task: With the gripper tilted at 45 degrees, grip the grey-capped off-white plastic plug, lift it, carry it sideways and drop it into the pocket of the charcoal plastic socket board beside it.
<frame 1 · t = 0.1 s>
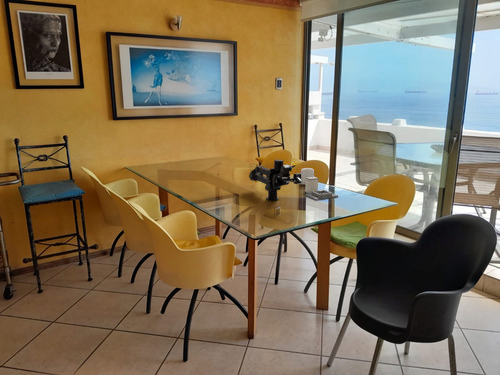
hand: (294, 182, 214), 17 cm above the table, tool horizontal, fingers open, 9 cm apart
plug: (311, 191, 259), on the table
socket board: (321, 196, 248), on the table
photo printer: (307, 184, 281), on the table
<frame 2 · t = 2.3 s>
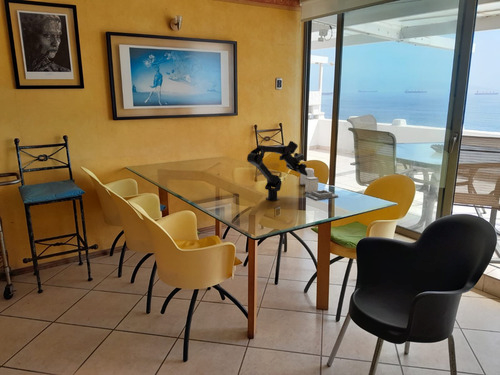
hand: (303, 173, 251), 14 cm above the table, tool tilted 45°, fingers open, 9 cm apart
nothing on the table moved.
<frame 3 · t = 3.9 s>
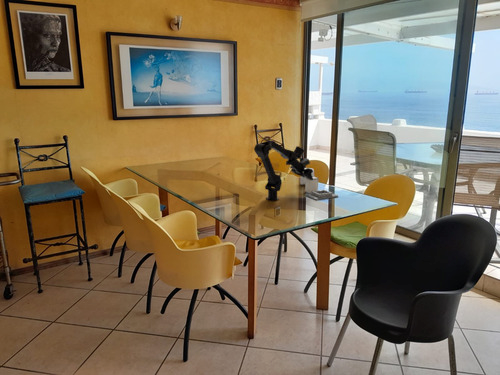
hand: (308, 178, 256), 10 cm above the table, tool tilted 45°, fingers open, 9 cm apart
nothing on the table moved.
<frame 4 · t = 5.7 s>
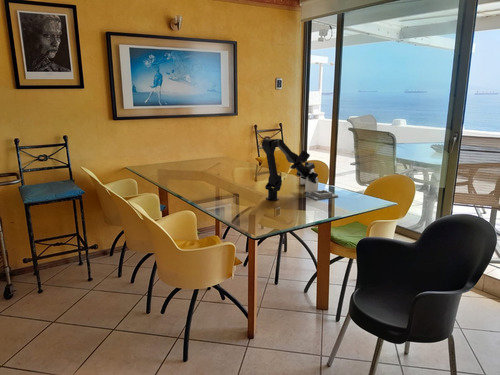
hand: (313, 182, 258), 7 cm above the table, tool tilted 45°, fingers closed on plug, 5 cm apart
plug: (311, 191, 259), on the table, touching gripper
everything else where it was.
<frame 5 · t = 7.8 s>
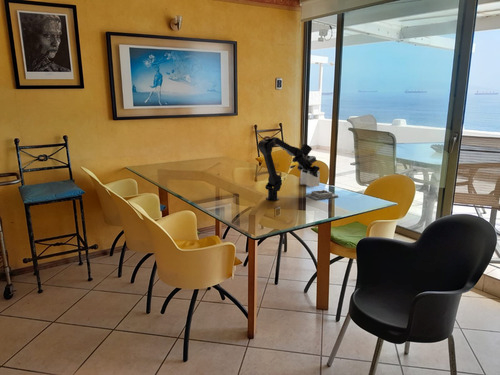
hand: (314, 176, 256), 11 cm above the table, tool tilted 45°, fingers closed on plug, 5 cm apart
plug: (312, 185, 257), point 5 cm above the table, touching gripper
everything else where it was.
when the fingers open (8 cm above the table, at t = 10.3 s): plug stays where it is, resting on socket board.
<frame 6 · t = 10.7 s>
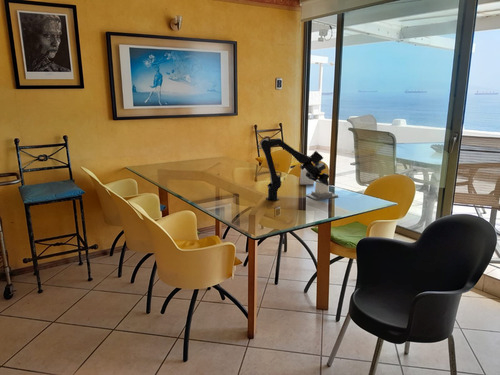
hand: (324, 183, 246), 9 cm above the table, tool tilted 45°, fingers open, 9 cm apart
plug: (321, 194, 247), point 1 cm above the table, touching socket board
everything else where it was.
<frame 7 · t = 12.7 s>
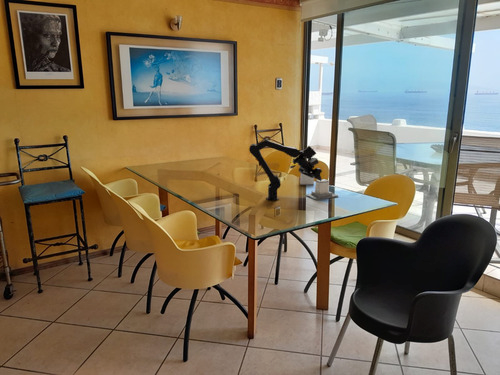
hand: (316, 178, 243), 12 cm above the table, tool tilted 45°, fingers open, 9 cm apart
nothing on the table moved.
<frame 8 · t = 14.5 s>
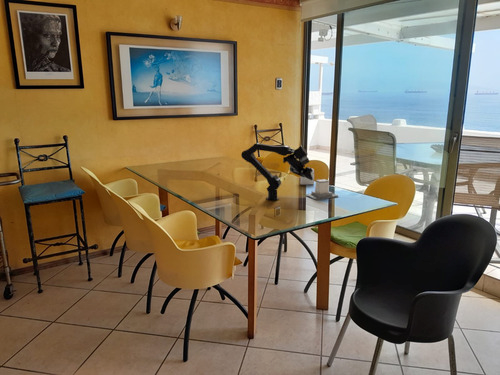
hand: (308, 178, 239), 14 cm above the table, tool tilted 45°, fingers open, 9 cm apart
nothing on the table moved.
at the end: plug 0.0 cm off-centre on the socket board, point 1.0 cm above the socket board's base; plug tilted 0°; the gripper is holding nothing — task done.
